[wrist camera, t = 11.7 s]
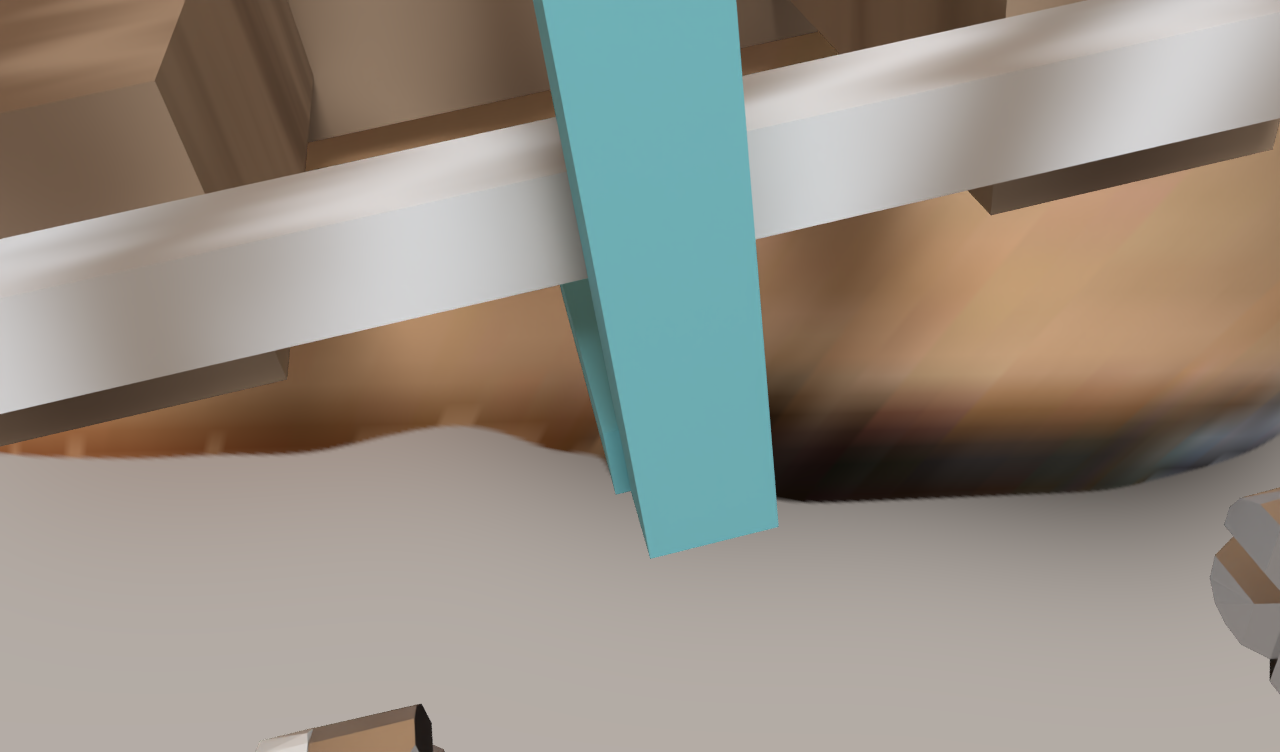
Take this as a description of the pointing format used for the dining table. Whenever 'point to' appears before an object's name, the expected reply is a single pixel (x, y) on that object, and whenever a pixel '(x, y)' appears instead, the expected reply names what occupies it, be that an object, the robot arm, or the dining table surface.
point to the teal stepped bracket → (665, 260)
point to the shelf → (339, 83)
